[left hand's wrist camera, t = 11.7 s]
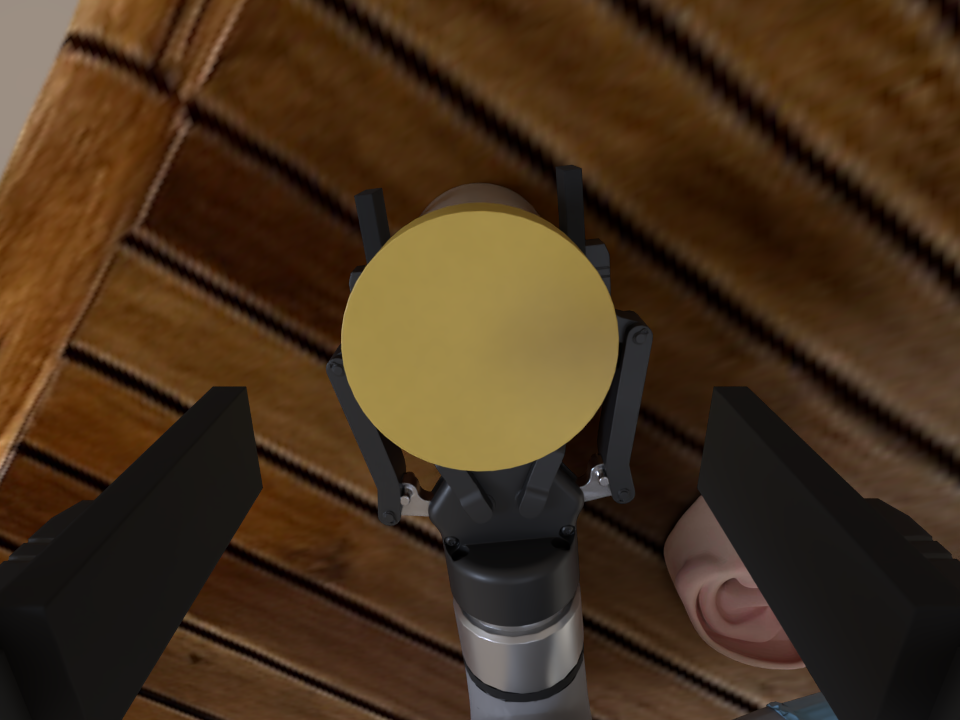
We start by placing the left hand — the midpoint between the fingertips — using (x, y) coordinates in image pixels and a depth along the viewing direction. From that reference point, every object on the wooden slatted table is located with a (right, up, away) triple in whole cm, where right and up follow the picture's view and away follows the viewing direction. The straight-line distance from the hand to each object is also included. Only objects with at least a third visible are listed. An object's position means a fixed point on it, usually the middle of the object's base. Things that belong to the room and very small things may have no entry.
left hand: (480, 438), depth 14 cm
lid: (0, +2, +6) cm, 6 cm away
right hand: (0, +10, +12) cm, 15 cm away
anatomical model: (+19, -12, +28) cm, 36 cm away
